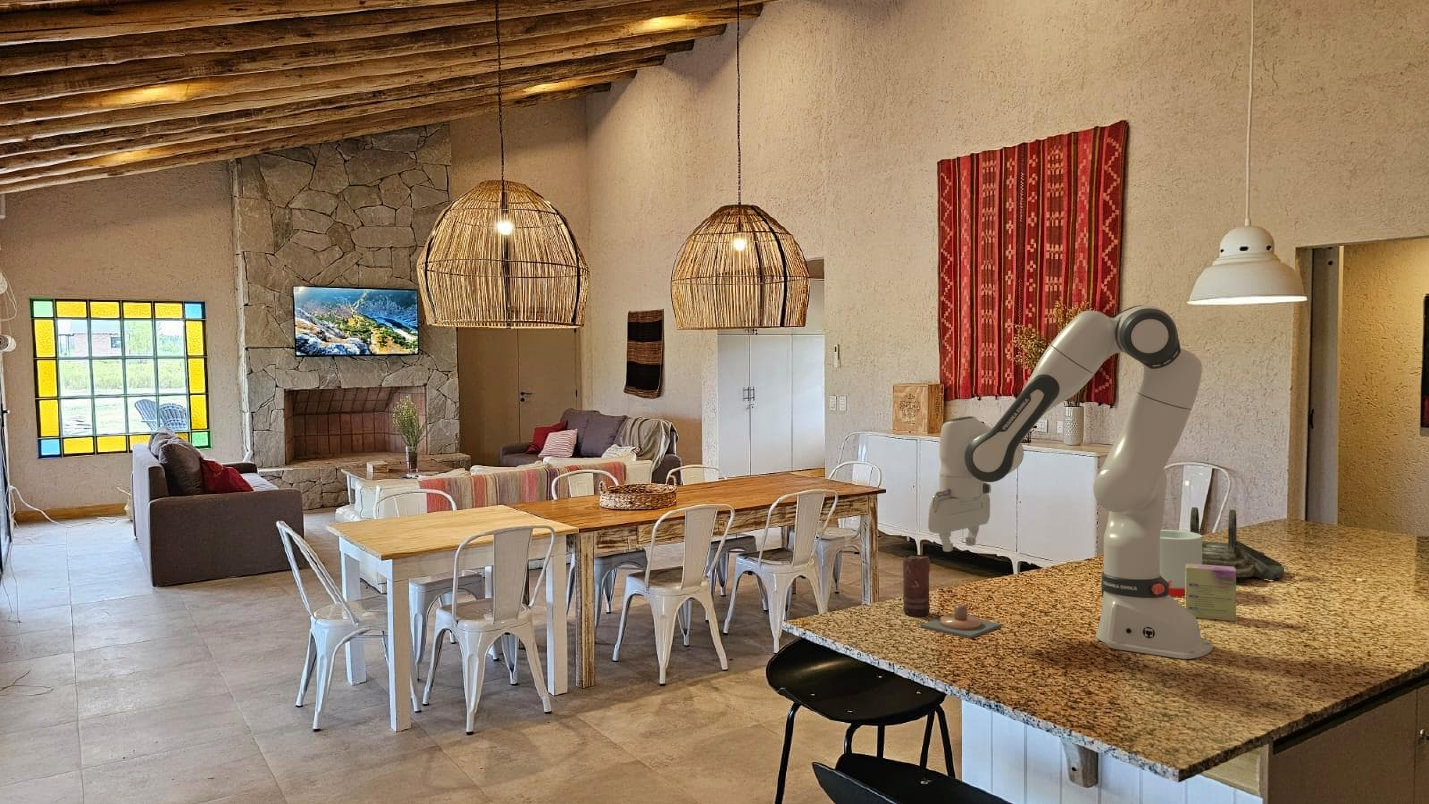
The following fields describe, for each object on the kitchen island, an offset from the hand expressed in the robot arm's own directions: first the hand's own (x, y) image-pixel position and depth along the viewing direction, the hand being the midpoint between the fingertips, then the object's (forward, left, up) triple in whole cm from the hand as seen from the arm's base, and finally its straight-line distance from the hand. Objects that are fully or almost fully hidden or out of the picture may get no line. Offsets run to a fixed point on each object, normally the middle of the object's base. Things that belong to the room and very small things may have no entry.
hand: (959, 548), depth 215 cm
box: (-37, -47, -18) cm, 63 cm away
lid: (0, 0, -18) cm, 18 cm away
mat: (0, 0, -18) cm, 18 cm away
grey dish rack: (-20, -100, -19) cm, 104 cm away
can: (+14, -3, -18) cm, 23 cm away
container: (-20, -68, -18) cm, 73 cm away
